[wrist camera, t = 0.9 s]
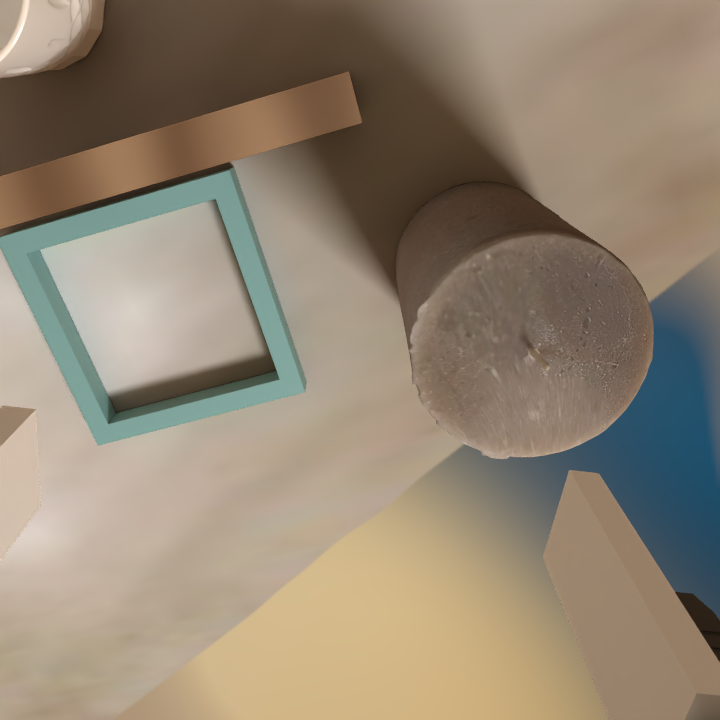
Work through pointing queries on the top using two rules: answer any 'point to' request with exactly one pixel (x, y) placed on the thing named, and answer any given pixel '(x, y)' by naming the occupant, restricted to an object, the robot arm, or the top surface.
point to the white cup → (46, 34)
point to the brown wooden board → (179, 149)
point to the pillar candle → (518, 322)
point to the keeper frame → (67, 342)
